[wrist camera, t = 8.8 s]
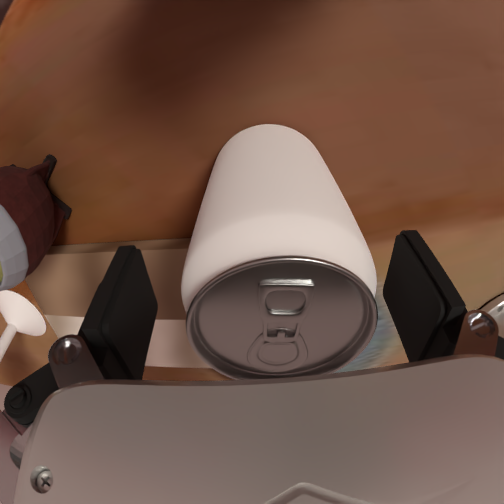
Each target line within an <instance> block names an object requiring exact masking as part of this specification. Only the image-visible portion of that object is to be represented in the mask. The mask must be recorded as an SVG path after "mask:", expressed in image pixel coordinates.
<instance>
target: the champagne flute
mask: <svg viewBox="0 0 504 504" xmlns="http://www.w3.org/2000/svg"><path fill="white" fill-rule="evenodd" d="M0 311H1V313H2V315H3V317H4V318H5V320H6V322H7V324H8V326H7V327H6V329H5V331H4V332H3V334H2V336H1V338H0V362H1V360H2V358H3V356H4V354H5V352H6V350H7V348H8V346H9V344H10V343H11V341H12V339H13V337H14V335H15V334H16V332H21V333H25V334H29V335H33V336H40V335H42V334H44V333H45V331H46V324H45V321H44V319H43V317H42V315H41V314H40V312H39V311H38V310H37V309H36V307H35V306H34V305H33V304H32V303H30V302H29V301H28V300H27V299H25V298H24V297H23V296H21V295H19V294H17V293H15V292H12V291H8V290H4V291H1V292H0Z"/></svg>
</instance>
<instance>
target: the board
mask: <svg viewBox="0 0 504 504" xmlns="http://www.w3.org/2000/svg"><path fill="white" fill-rule="evenodd" d="M190 241H191V238H183V239H163V240H144V241H125V242H108V243H91V244H74V245H59V246H50V248H49V250H48V251H47V253H46V255H45V256H44V258H43V259H42V261H41V263H40V264H39V266H38V267H37V268H36V269H35V270H34V271H33V273H31V274H30V275H28V276H27V277H26V278H25V281H26V283H27V285H28V287H29V289H30V290H31V292H32V294H33V296H34V298H35V300H36V301H37V303H38V305H39V307H40V308H41V310H42V312H43V314H44V315H45V317H46V319H47V320H48V322H49V324H50V325H51V327H52V328H53V330H54V332H55V333H56V335H57V336H58V338H60V337H63V336H65V335H70V334H74V335H77V334H78V332H79V329H80V327H81V324H82V322H83V320H84V317H85V315H86V313H87V310H88V308H89V306H90V303H91V301H92V299H93V297H94V294H95V292H96V290H97V288H98V286H99V284H100V283H101V282H102V280H103V278H104V276H105V274H106V271H107V269H108V267H109V265H110V263H111V261H112V259H113V257H114V255H115V253H116V251H117V249H118V247H119V246H126V245H135V247H136V249H140V250H141V252H142V256H143V259H144V262H145V265H146V269H147V272H148V275H149V278H150V281H151V284H152V287H153V290H154V293H155V296H156V299H157V303H158V311H157V315H156V319H155V323H154V328H153V332H152V336H151V340H150V345H149V349H148V353H147V358H146V362H145V366H158V367H181V368H211V367H210V366H208V365H207V364H206V363H204V362H203V361H202V360H201V359H200V358H199V357H198V355H197V354H196V353H195V352H194V350H193V349H192V347H191V345H190V343H189V340H188V337H187V334H186V316H187V314H186V311H185V308H184V305H183V301H182V295H181V282H182V274H183V269H184V264H185V260H186V256H187V252H188V249H189V245H190Z"/></svg>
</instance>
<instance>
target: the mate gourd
mask: <svg viewBox="0 0 504 504" xmlns="http://www.w3.org/2000/svg"><path fill="white" fill-rule="evenodd" d="M56 161H57V160H56V158H55V157H54V156H52V155H50V154H49V155H47V156H46V158H45V159H44V161H43V163H42V164H40V165H37V166H34V167H32V168H30V169H25V168H20V167H16V166H15V165H13V164H12V165H10V166H4V167H1V168H0V291H3V290H7V289H10V288H13V287H15V286H16V285H17V284H19V283H20V282H22V281H23V280H24V279H25V278H26V277H27V276H28V275H30V274H31V273H33V271H34V270H35V269H36V268H37V267H38V266H39V264H40V263H41V261H42V259H43V258H44V256H45V255H46V253H47V251H48V250H49V248H50V246H51V245H52V243H53V242H54V240H55V239H56V237H57V234H58V232H59V229H60V226H61V223H62V220H63V218H64V219H68V217H69V215H70V213H71V211H72V210H71V208H70V207H68V206H67V205H66V204H65V203H63V202H62V201H61V200H59V199H58V198H57V197H55V196H54V195H53V194H51V193H50V192H49V190H48V188H47V187H46V185H47V183H48V180H49V178H50V175H51V173H52V171H53V169H54V166H55V164H56Z"/></svg>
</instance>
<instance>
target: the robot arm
mask: <svg viewBox="0 0 504 504" xmlns="http://www.w3.org/2000/svg"><path fill="white" fill-rule="evenodd" d="M383 297H384V299H385V302H386V304H387V306H388V309H389V311H390V314H391V316H392V319H393V321H394V324H395V326H396V329H397V331H398V334H399V336H400V339H401V341H402V344H403V347H404V349H405V352H406V355H407V357H408V360H409V363H403V364H397V365H391V366H385V367H378V368H371V369H364V370H357V371H349V372H341V373H332V374H322V375H312V376H301V377H289V378H274V379H256V380H229V381H161V380H142V376H143V372H144V367H145V362H146V358H147V353H148V349H149V345H150V340H151V336H152V332H153V328H154V323H155V319H156V315H157V311H158V303H157V299H156V296H155V293H154V290H153V287H152V284H151V281H150V278H149V275H148V272H147V269H146V265H145V262H144V259H143V256H142V252H141V250H140V249H136V247H135V245H126V246H119V247H118V249H117V251H116V253H115V255H114V257H113V259H112V261H111V263H110V265H109V267H108V269H107V271H106V274H105V276H104V278H103V280H102V282H101V283H100V284H99V286H98V288H97V290H96V292H95V294H94V297H93V299H92V301H91V303H90V306H89V308H88V310H87V313H86V315H85V317H84V320H83V322H82V324H81V327H80V329H79V332H78V334H77V335H74V334H70V335H65V336H63V337H60V338H59V339H58V340H56V341H55V342H54V343H53V345H52V346H51V348H50V350H49V353H48V360H49V363H48V364H46V365H45V366H43V367H42V368H40V369H39V370H37V371H36V372H34V373H33V374H31V375H30V376H28V377H27V378H25V379H23V380H22V381H20V382H19V383H17V384H16V385H14V386H13V387H12V388H11V389H10V390H9V391H8V393H7V395H6V397H5V401H4V407H5V409H4V410H3V412H2V411H1V410H0V501H1V503H2V504H504V294H503V295H501V296H499V297H497V298H496V299H494V300H492V301H491V302H489V303H488V304H487V305H486V306H484V307H483V308H482V309H480V310H471V311H469V312H468V311H467V309H466V308H465V306H466V305H465V303H464V301H463V300H462V298H461V296H460V295H459V293H458V291H457V290H456V288H455V287H454V285H453V283H452V282H451V280H450V279H449V277H448V275H447V274H446V272H445V271H444V269H443V268H442V266H441V265H440V263H439V262H438V260H437V259H436V257H435V256H434V254H433V253H432V251H431V250H430V248H429V247H428V246H427V244H426V243H425V241H424V240H423V238H422V237H421V236H420V234H419V233H418V232H417V231H416V230H406V231H401V233H400V235H397V236H396V239H395V244H394V248H393V252H392V256H391V260H390V264H389V268H388V272H387V276H386V280H385V284H384V287H383Z"/></svg>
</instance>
